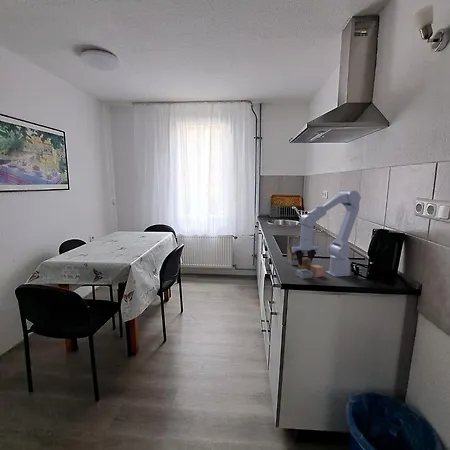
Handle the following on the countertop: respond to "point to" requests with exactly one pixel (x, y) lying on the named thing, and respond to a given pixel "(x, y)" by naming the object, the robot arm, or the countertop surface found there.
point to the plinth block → (304, 273)
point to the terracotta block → (316, 270)
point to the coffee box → (291, 256)
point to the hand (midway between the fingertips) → (304, 264)
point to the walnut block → (305, 263)
